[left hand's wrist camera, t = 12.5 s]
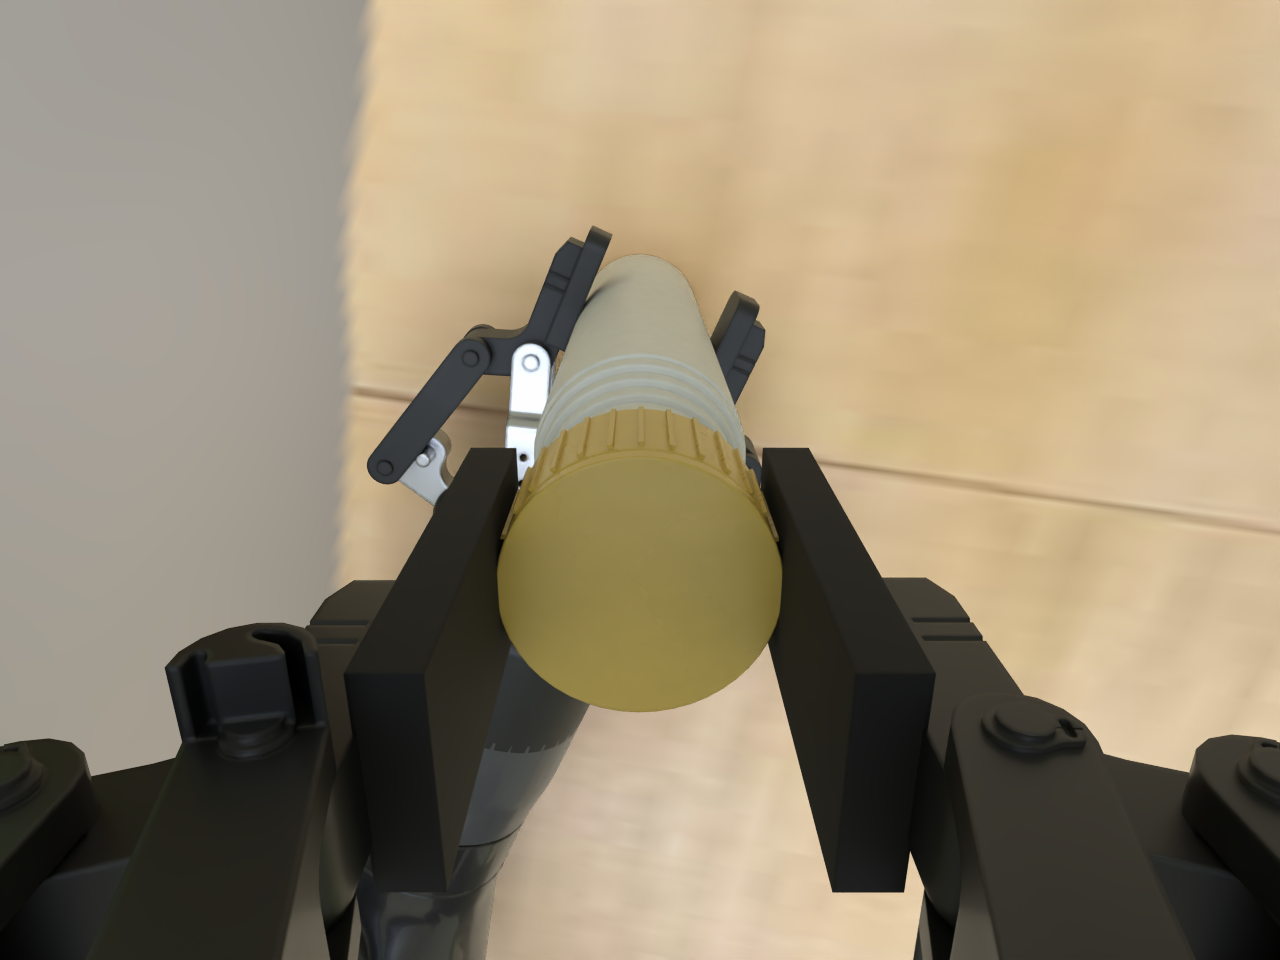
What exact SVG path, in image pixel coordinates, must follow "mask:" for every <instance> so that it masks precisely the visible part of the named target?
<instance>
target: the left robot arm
mask: <svg viewBox="0 0 1280 960" xmlns="http://www.w3.org/2000/svg"><path fill="white" fill-rule="evenodd" d="M518 489H519V484H518V466H517V448H471V449H470V450H469V452H468V454H467V456H466V457H465V459H464V461H463V463H462V465H461V466H460V468H459V470H458V472H457V473H456V475H455V477H454V479H453V480H452V482H451V484H450V486H449V488H448V489H447V491H446V493H445V495H444V496H443V498H442V500H441V502H440V503H439V505H438V507H437V509H436V511H435V512H434V514H433V516H432V518H431V519H430V521H429V523H428V525H427V526H426V528H425V530H424V532H423V534H422V535H421V537H420V539H419V541H418V542H417V544H416V546H415V548H414V549H413V551H412V553H411V555H410V556H409V558H408V560H407V562H406V564H405V565H404V567H403V569H402V571H401V572H400V574H399V576H398V578H397V579H396V580H354V581H352V582H351V583H349V584H348V585H346V586H345V587H343V588H342V589H340V590H339V591H337V592H336V593H334V594H333V595H331V596H329V597H328V598H326V599H325V600H324V602H323V603H322V605H321V606H320V608H319V609H318V610H317V612H316V613H315V615H314V616H313V618H312V619H311V621H310V625H307V626H306V628H305V629H304V628H302V627H298V626H294V625H290V624H286V623H255V624H249V625H244V626H238V627H233V628H228V629H225V630H223V631H220V632H217V633H214V634H212V635H209V636H206V637H204V638H201V639H199V640H198V641H196V642H194V643H193V644H191V645H189V646H188V647H186V648H184V649H183V650H181V651H180V652H178V653H177V654H176V656H175V657H174V658H173V659H172V660H171V661H170V662H169V663H168V664H167V666H166V667H165V671H166V675H167V680H168V684H169V688H170V692H171V697H172V701H173V705H174V709H175V714H176V718H177V722H178V726H179V731H180V735H181V739H182V744H181V746H180V749H179V751H178V753H177V755H176V757H175V758H172V759H169V760H165V761H161V762H158V763H154V764H150V765H145V766H140V767H135V768H130V769H125V770H120V771H115V772H111V773H106V774H100V775H96V776H91V775H90V771H89V768H88V765H87V761H86V758H85V754H84V752H82V751H81V750H80V749H79V748H78V747H76V746H75V745H74V744H73V743H71V742H66V741H60V740H54V739H39V740H29V741H19V742H14V743H9V744H5V745H4V746H1V747H0V960H358V952H359V943H360V934H361V921H360V914H359V907H358V901H357V895H356V888H357V886H358V883H359V880H360V878H361V875H362V873H363V870H364V867H365V865H366V862H367V860H368V857H369V854H370V859H371V866H372V872H373V879H374V886H375V892H447V890H448V886H449V882H450V878H451V875H452V871H453V867H454V863H455V859H456V855H457V851H458V848H459V844H460V840H461V836H462V832H463V828H464V824H465V821H466V817H467V813H468V809H469V805H470V801H471V797H472V794H473V790H474V786H475V782H476V778H477V774H478V770H479V767H480V763H481V759H482V755H483V751H484V747H485V743H486V740H487V736H488V732H489V728H490V724H491V720H492V716H493V713H494V709H495V705H496V701H497V697H498V693H499V689H500V686H501V682H502V678H503V674H504V670H505V666H506V662H507V659H508V655H509V651H510V647H511V643H512V642H511V640H510V639H509V637H508V634H507V632H506V630H505V628H504V625H503V623H502V620H501V616H500V609H499V596H498V580H497V564H498V558H499V554H500V551H501V548H502V545H503V542H504V540H503V539H501V535H502V532H503V529H504V526H505V523H506V521H507V518H508V515H509V512H510V509H511V507H512V504H513V501H514V498H515V496H516V493H517V490H518ZM761 491H762V492H763V495H764V497H765V500H766V503H767V506H768V509H769V511H770V514H771V517H772V520H773V522H774V525H775V528H776V531H777V534H778V536H779V541H778V542H776V543H777V546H778V550H779V553H780V556H781V560H782V587H781V602H780V614H779V618H778V621H777V624H776V627H775V629H774V631H773V633H772V635H771V637H770V639H769V641H768V645H769V649H770V653H771V657H772V661H773V664H774V668H775V672H776V676H777V680H778V684H779V688H780V692H781V695H782V699H783V703H784V707H785V711H786V715H787V719H788V722H789V726H790V730H791V734H792V738H793V742H794V746H795V749H796V753H797V757H798V761H799V765H800V769H801V773H802V776H803V780H804V784H805V788H806V792H807V796H808V800H809V803H810V807H811V811H812V815H813V819H814V823H815V827H816V830H817V834H818V838H819V842H820V846H821V850H822V854H823V857H824V861H825V865H826V869H827V873H828V877H829V881H830V884H831V888H832V892H904V889H905V882H906V875H907V869H908V862H909V855H910V852H911V854H912V857H913V859H914V862H915V865H916V867H917V870H918V872H919V875H920V878H921V880H922V883H923V885H924V895H923V901H922V907H921V914H920V920H919V926H918V933H917V939H916V945H915V952H914V958H913V960H1280V743H1279V742H1277V741H1276V740H1271V739H1266V738H1261V737H1251V736H1241V735H1226V736H1221V737H1215V738H1209V739H1208V740H1206V741H1205V742H1204V743H1203V744H1202V745H1200V746H1199V747H1198V748H1197V749H1196V751H1195V755H1194V758H1193V762H1192V765H1191V769H1190V772H1189V773H1188V772H1183V771H1178V770H1173V769H1168V768H1163V767H1159V766H1154V765H1149V764H1144V763H1139V762H1134V761H1129V760H1125V759H1121V758H1117V757H1114V756H1110V755H1106V754H1103V752H1102V749H1101V747H1100V745H1099V743H1098V741H1097V739H1096V738H1095V737H1094V736H1093V734H1092V733H1091V732H1090V730H1089V729H1088V728H1087V726H1086V725H1085V724H1084V723H1082V722H1081V721H1080V720H1078V719H1077V718H1075V717H1074V716H1073V715H1071V714H1070V713H1068V712H1067V711H1065V710H1064V709H1062V708H1060V707H1057V706H1055V705H1053V704H1050V703H1048V702H1045V701H1043V700H1041V699H1038V698H1035V697H1030V696H1025V695H1024V694H1023V693H1022V692H1021V690H1020V689H1019V687H1018V686H1017V684H1016V683H1015V682H1014V680H1013V679H1012V677H1011V676H1010V675H1009V673H1008V672H1007V670H1006V669H1005V667H1004V666H1003V665H1002V663H1001V662H1000V660H999V659H998V657H997V656H996V655H995V653H994V652H993V650H992V649H991V648H990V646H989V645H988V643H987V642H986V641H983V639H982V638H983V636H982V635H981V633H980V632H979V630H978V629H977V628H976V626H975V625H974V623H973V622H970V618H969V616H968V615H967V613H966V612H965V611H964V609H963V608H962V606H961V605H960V604H959V602H958V601H957V599H956V598H955V596H953V595H952V594H950V593H949V592H947V591H945V590H944V589H942V588H941V587H939V586H938V585H936V584H935V583H933V582H932V581H930V580H929V579H927V578H882V577H881V575H880V573H879V572H878V570H877V568H876V566H875V565H874V563H873V561H872V559H871V558H870V556H869V554H868V552H867V550H866V549H865V547H864V545H863V543H862V542H861V540H860V538H859V536H858V535H857V533H856V531H855V529H854V527H853V526H852V524H851V522H850V520H849V519H848V517H847V515H846V513H845V512H844V510H843V508H842V506H841V504H840V503H839V501H838V499H837V497H836V496H835V494H834V492H833V490H832V489H831V487H830V485H829V483H828V482H827V480H826V478H825V476H824V474H823V473H822V471H821V469H820V467H819V466H818V464H817V462H816V460H815V459H814V457H813V455H812V453H811V451H810V450H809V448H763V456H762V474H761Z"/></svg>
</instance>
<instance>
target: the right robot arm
mask: <svg viewBox="0 0 1280 960" xmlns="http://www.w3.org/2000/svg"><path fill="white" fill-rule="evenodd" d="M611 237H612V234H610V233H608V232H606V231H604V230H601V229H599V228H597V227H595V226H592V227H591V229H590V231H589V233H588V236H587V238H586V241H585V243H584V242H582V241H580V240H577V239H575V238H573V237H570V238H569V239H568V240H567V242H566V243H565V244H564V245H563V246H562V247H561V248H560V249H559V250H558V251H557V253H556V254H555V256H554V259H553V261H552V264H551V266H550V269H549V272H548V274H547V277H546V279H545V282H544V285H543V287H542V290H541V292H540V295H539V297H538V300H537V302H536V305H535V307H534V310H533V313H532V315H531V318H530V320H529V323H528V324H527V325H526V326H524V327H522V328H520V329H517V330H503V329H495V328H493V327H491V326H489V325H485V324H480V325H476V326H474V327H473V328H472V329H471V330H470V331H469V332H468V333H467V334H466V335H465V337H464V338H463V339H462V340H460V341H459V342H458V343H457V344H456V346H455V347H454V348H453V349H452V351H451V352H450V353H449V355H448V356H447V357H446V358H445V360H444V361H443V362H442V364H441V365H440V366H439V367H438V369H437V370H436V371H435V373H434V374H433V375H432V377H431V378H430V379H429V380H428V382H427V383H426V384H425V386H424V387H423V388H422V390H421V391H420V392H419V393H418V395H417V396H416V397H415V399H414V400H413V401H412V402H411V404H410V405H409V406H408V408H407V409H406V410H405V412H404V413H403V414H402V415H401V417H400V418H399V419H398V421H397V422H396V423H395V425H394V426H393V427H392V428H391V430H390V431H389V432H388V434H387V435H386V436H385V437H384V439H383V440H382V441H381V443H380V444H379V445H378V447H377V448H376V449H375V450H374V452H373V453H372V454H371V456H370V457H369V459H368V462H367V469H368V472H369V474H370V476H371V477H372V478H373V479H374V480H376V481H377V482H379V483H382V484H393V483H395V482H397V481H400V482H401V483H402V484H404V485H405V486H407V487H408V488H409V489H411V490H412V491H414V492H415V493H416V494H418V495H419V496H420V497H422V498H423V499H425V500H426V501H427V502H429V503H430V504H432V505H433V506H434V509H433V514H434V512H435V511H436V509H437V507H438V505H439V503H440V502H441V500H442V498H443V496H444V495H445V493H446V491H447V489H448V488H449V486H450V484H451V482H452V480H453V479H454V477H453V476H451V474H450V473H449V472H448V470H447V467H446V459H447V456H448V455H449V453H450V451H451V441H450V438H449V437H448V435H447V434H446V433H445V432H443V431H442V430H441V429H440V428H441V427H442V425H443V424H444V423H445V422H446V420H447V419H448V418H449V417H450V415H451V414H452V413H453V412H454V410H455V409H456V408H457V407H458V405H459V404H460V403H461V402H462V400H463V399H464V398H465V396H466V395H467V394H468V393H469V391H470V390H471V389H472V388H473V386H474V385H475V384H476V383H477V381H478V380H479V379H480V378H481V376H482V375H483V374H484V375H500V376H511V386H510V403H509V414H508V419H507V425H506V438H505V448H517V466H518V484H519V489H520V486H521V483H522V481H523V478H524V475H525V472H526V470H527V468H528V466H529V467H531V468H532V466H533V465H534V441H535V436H536V431H537V427H538V424H539V421H540V418H541V415H542V412H543V410H544V407H545V404H546V402H547V399H548V396H549V394H550V391H551V388H552V386H553V383H554V380H555V370H556V357H557V354H558V352H559V350H562V351H564V352H565V350H566V347H567V345H568V343H569V340H570V337H571V335H572V332H573V329H574V327H575V324H576V322H577V320H578V318H579V316H580V313H581V311H582V309H583V306H584V304H585V301H586V299H587V296H588V294H589V291H590V289H591V287H592V284H593V282H594V279H595V277H596V274H597V272H598V270H599V267H600V265H601V262H602V260H603V257H604V255H605V252H606V250H607V248H608V245H609V243H610V240H611ZM758 312H759V305H758V303H757V302H756V301H755V299H753V298H750V297H748V296H746V295H744V294H742V293H739V292H737V291H734V292H733V293H732V295H731V297H730V298H729V300H728V302H727V304H726V306H725V309H724V311H723V313H722V315H721V317H720V319H719V321H718V323H717V326H716V328H715V330H714V332H713V334H712V336H711V338H710V340H711V343H712V346H713V349H714V351H715V354H716V357H717V359H718V362H719V365H720V367H721V370H722V373H723V375H724V378H725V381H726V384H727V386H728V389H729V392H730V394H731V397H732V400H733V402H734V405H735V404H736V402H737V400H738V398H739V396H740V394H741V392H742V390H743V388H744V386H745V384H746V382H747V380H748V378H749V375H750V373H751V372H752V370H753V368H754V366H755V363H756V362H757V360H758V358H759V356H760V354H761V352H762V350H763V348H764V339H765V329H764V328H763V326H762V325H761V323H760V322H759V321H757V320H756V318H757V315H758ZM744 438H745V445H746V461H745V464H746V466H747V467H748V469H749V470H750V469H753V470H754V472H755V475H756V478H757V481H758V484H759V486H760V484H761V474H762V468H761V465H760V462H759V460H758V457H757V454H756V452H755V449H754V447H753V444H752V442H751V440H750V439H749V438H748V437H747V436H745V435H744ZM588 706H589V704H588V703H585V702H583V701H580V700H578V699H576V698H573V697H571V696H569V695H567V694H565V693H564V692H562V691H560V690H558V689H556V688H555V687H553V686H552V685H551V684H549V683H548V682H547V681H545V680H544V679H543V678H541V677H540V676H539V675H538V674H537V673H536V672H535V671H534V670H533V669H532V668H531V667H530V666H529V665H528V664H527V663H526V662H525V660H524V659H523V658H522V657H521V656H520V654H519V653H518V652H517V650H516V648H515V647H514V645H513V643H511V647H510V651H509V655H508V659H507V662H506V666H505V670H504V674H503V678H502V682H501V686H500V689H499V693H498V697H497V701H496V705H495V709H494V713H493V716H492V720H491V724H490V728H489V732H488V736H487V740H486V743H485V747H484V751H483V755H482V759H481V763H480V767H479V770H478V774H477V778H476V782H475V786H474V790H473V794H472V797H471V801H470V805H469V809H468V813H467V817H466V821H465V824H464V828H463V832H462V836H461V840H460V844H459V848H458V851H457V855H456V859H455V863H454V867H453V871H452V875H451V878H450V882H449V886H448V890H447V892H375V886H374V879H373V872H372V866H371V859H370V854H369V857H368V860H367V862H366V865H365V867H364V870H363V873H362V875H361V878H360V880H359V883H358V886H357V888H356V895H357V901H358V907H359V914H360V921H361V934H360V943H359V952H358V960H486V952H487V943H488V935H489V927H490V919H491V912H492V906H493V900H494V890H495V882H496V878H497V875H498V873H499V871H500V869H501V867H502V866H503V863H504V861H505V859H506V857H507V855H508V853H509V851H510V849H511V847H512V845H513V843H514V841H515V839H516V837H517V835H518V833H519V831H520V829H521V827H522V824H523V822H524V820H525V818H526V816H527V815H528V813H529V811H530V810H531V808H532V807H533V805H534V804H535V802H536V801H537V800H538V798H539V797H540V796H541V794H542V793H543V792H544V790H545V789H546V787H547V786H548V784H549V783H550V781H551V779H552V778H553V776H554V774H555V772H556V770H557V769H558V767H559V765H560V763H561V761H562V759H563V757H564V755H565V753H566V751H567V749H568V747H569V745H570V743H571V741H572V739H573V737H574V735H575V733H576V731H577V728H578V726H579V725H580V723H581V721H582V719H583V717H584V715H585V713H586V710H587V708H588Z"/></svg>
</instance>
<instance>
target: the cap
mask: <svg viewBox="0 0 1280 960" xmlns="http://www.w3.org/2000/svg"><path fill="white" fill-rule="evenodd" d="M501 539H503V540H504V542H503V545H502V548H501V551H500V554H499V558H498V564H497V580H498V596H499V609H500V616H501V620H502V623H503V625H504V628H505V630H506V632H507V634H508V637H509V639H510V640H511V642H512V643H513V645H514V647H515V648H516V650H517V652H518V653H519V654H520V656H521V657H522V658H523V659H524V660H525V662H526V663H527V664H528V665H529V666H530V667H531V668H532V669H533V670H534V671H535V672H536V673H537V674H538V675H539V676H540V677H541V678H543V679H544V680H545V681H547V682H548V683H549V684H551V685H552V686H553V687H555V688H556V689H558V690H560V691H562V692H564V693H565V694H567V695H569V696H571V697H573V698H576V699H578V700H580V701H583V702H585V703H588V704H591V705H595V706H598V707H602V708H606V709H612V710H618V711H628V712H652V711H661V710H668V709H674V708H677V707H681V706H685V705H688V704H692V703H694V702H697V701H699V700H702V699H704V698H707V697H709V696H710V695H712V694H714V693H716V692H718V691H720V690H721V689H723V688H724V687H726V686H727V685H729V684H730V683H732V682H733V681H734V680H736V679H737V678H738V677H739V676H740V675H741V674H742V673H744V672H745V671H746V670H747V669H748V668H749V667H750V666H751V665H752V663H753V662H754V661H755V660H756V659H757V657H758V656H759V655H760V654H761V652H762V651H763V649H764V647H765V646H766V644H767V643H768V641H769V639H770V637H771V635H772V633H773V631H774V629H775V627H776V624H777V621H778V618H779V614H780V602H781V587H782V560H781V556H780V553H779V550H778V546H777V543H776V542H778V541H779V536H778V534H777V531H776V528H775V525H774V522H773V520H772V517H771V514H770V511H769V509H768V506H767V503H766V500H765V497H764V495H763V492H762V491H761V489H760V486H759V484H758V481H757V478H756V475H755V472H754V470H753V469H750V470H749V469H748V467H747V466H746V464H745V463H744V461H743V459H742V456H741V453H740V450H739V449H738V448H736V449H733V447H732V446H731V445H730V444H729V443H727V442H726V441H725V440H724V439H723V438H722V436H721V433H720V432H719V431H717V430H716V432H714V431H712V430H711V429H709V428H708V427H706V426H704V425H702V424H700V423H698V419H696V418H694V417H693V418H692V419H690V418H687V417H684V416H681V415H678V414H675V413H672V411H671V410H669V409H666V411H661V410H652V409H644V406H639V407H638V409H626V410H619V411H616V409H611V412H608V413H605V414H601V415H598V416H595V417H592V418H590V417H589V416H588V417H585V418H584V421H583V422H581V423H579V424H577V425H575V426H574V427H572V428H571V429H569V430H567V431H566V430H565V429H564V430H562V431H561V433H560V436H559V437H558V438H557V439H556V440H554V441H553V442H552V443H551V444H550V445H549V446H548V447H545V446H544V447H543V448H542V449H541V451H540V454H539V457H538V459H537V460H536V462H535V463H534V465H533V466H532V468H531V467H529V466H528V468H527V470H526V472H525V475H524V478H523V481H522V483H521V486H520V489H518V490H517V493H516V496H515V498H514V501H513V504H512V507H511V509H510V512H509V515H508V518H507V521H506V523H505V526H504V529H503V532H502V535H501Z"/></svg>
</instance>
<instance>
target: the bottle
mask: <svg viewBox="0 0 1280 960" xmlns="http://www.w3.org/2000/svg"><path fill="white" fill-rule="evenodd" d="M639 406H644V409H652V410H661V411H666V409H669V410H671V411H672V413H675V414H678V415H681V416H684V417H687V418H690V419H692V418H693V417H694V418H696V419H698V423H700V424H702V425H704V426H706V427H708V428H709V429H711V430H712V431H714V432H716V430H717V431H719V432H720V433H721V436H722V438H723V439H724V440H725V441H726V442H727V443H729V444H730V445H731V446H732V447H733V449H736V448H738V449H739V450H740V453H741V456H742V459H743V461H744V463H745V461H746V445H745V438H744V432H743V429H742V425H741V421H740V419H739V416H738V413H737V410H736V408H735V405H734V402H733V400H732V397H731V394H730V392H729V389H728V386H727V384H726V381H725V378H724V375H723V373H722V370H721V367H720V365H719V362H718V359H717V357H716V354H715V351H714V349H713V346H712V343H711V340H710V338H709V335H708V332H707V330H706V327H705V324H704V322H703V319H702V316H701V313H700V311H699V308H698V305H697V303H696V300H695V297H694V295H693V292H692V290H691V287H690V285H689V283H688V281H687V280H686V278H685V277H684V276H683V274H682V273H681V272H680V271H679V270H678V269H677V268H676V267H675V266H673V265H672V264H670V263H669V262H667V261H665V260H663V259H661V258H658V257H655V256H651V255H644V254H636V255H629V256H625V257H622V258H619V259H617V260H615V261H613V262H611V263H610V264H608V265H607V266H605V267H604V268H603V269H602V270H601V271H600V272H599V273H598V274H597V275H596V277H595V279H594V282H593V284H592V287H591V289H590V291H589V294H588V296H587V299H586V301H585V304H584V306H583V309H582V311H581V313H580V316H579V318H578V320H577V322H576V324H575V327H574V329H573V332H572V335H571V337H570V340H569V343H568V345H567V348H566V351H565V353H564V356H563V359H562V361H561V364H560V367H559V370H558V372H557V375H556V378H555V380H554V383H553V386H552V388H551V391H550V394H549V396H548V399H547V402H546V404H545V407H544V410H543V412H542V415H541V418H540V421H539V424H538V427H537V431H536V436H535V441H534V463H535V462H536V460H537V459H538V457H539V454H540V451H541V449H542V448H543V447H544V446H545V447H548V446H549V445H550V444H551V443H552V442H553V441H554V440H556V439H557V438H558V437H559V436H560V433H561V431H562V430H564V429H565V430H566V431H567V430H569V429H571V428H572V427H574V426H575V425H577V424H579V423H581V422H583V421H584V418H585V417H588V416H589V417H590V418H592V417H595V416H598V415H601V414H605V413H608V412H611V409H616V411H619V410H626V409H638V407H639Z"/></svg>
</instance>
